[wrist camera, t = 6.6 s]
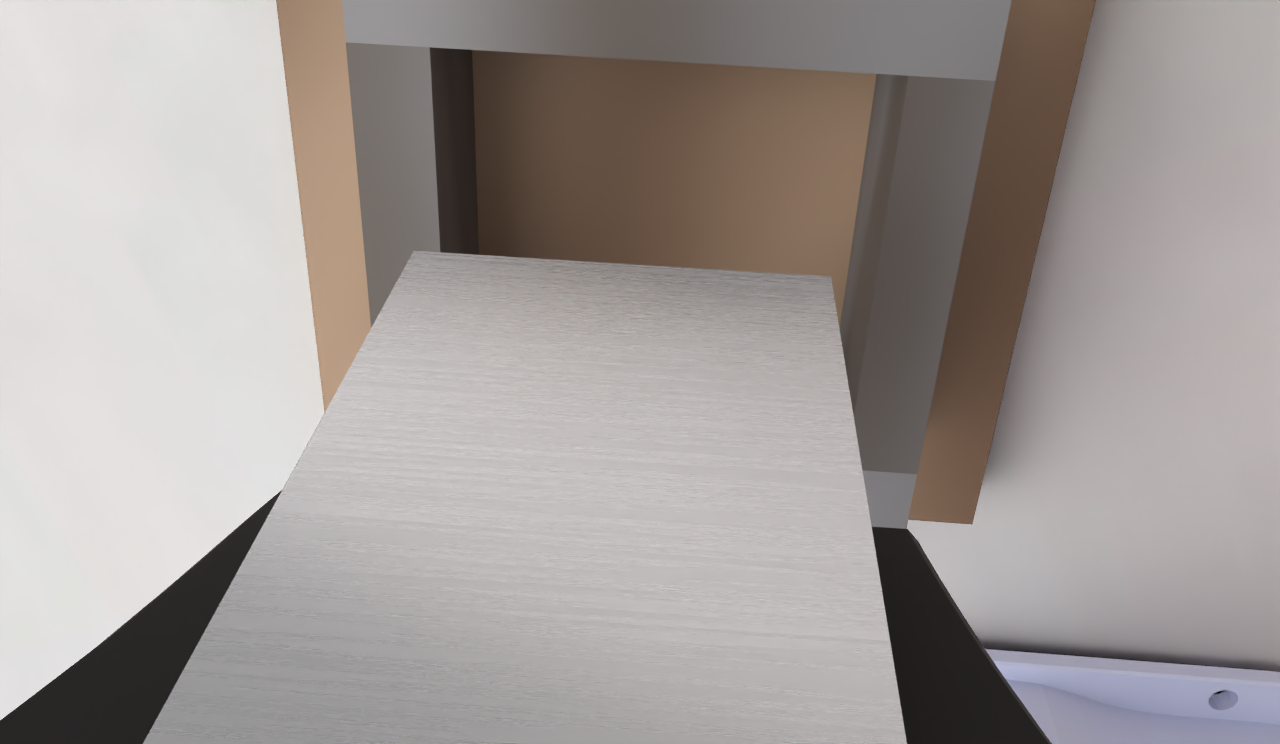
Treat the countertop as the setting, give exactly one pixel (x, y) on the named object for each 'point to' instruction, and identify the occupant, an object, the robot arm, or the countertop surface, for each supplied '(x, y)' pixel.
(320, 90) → the socket block
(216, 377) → the countertop surface
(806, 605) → the peg
